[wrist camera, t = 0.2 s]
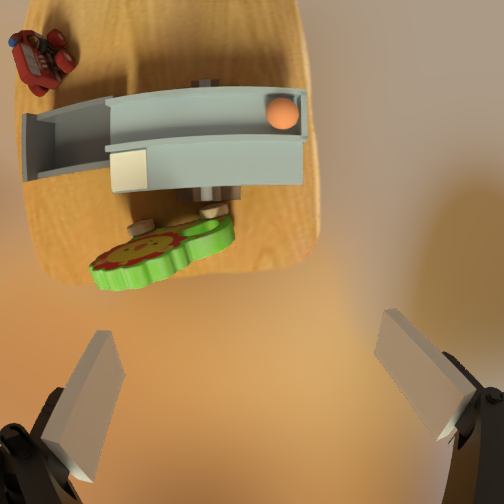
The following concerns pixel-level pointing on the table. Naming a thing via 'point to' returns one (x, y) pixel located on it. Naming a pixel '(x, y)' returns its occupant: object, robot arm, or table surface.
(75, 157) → the pulled-out tray drawer
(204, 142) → the lever
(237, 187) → the stand
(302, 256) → the table surface
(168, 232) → the toy lion
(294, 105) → the ball
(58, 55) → the toy fire truck
